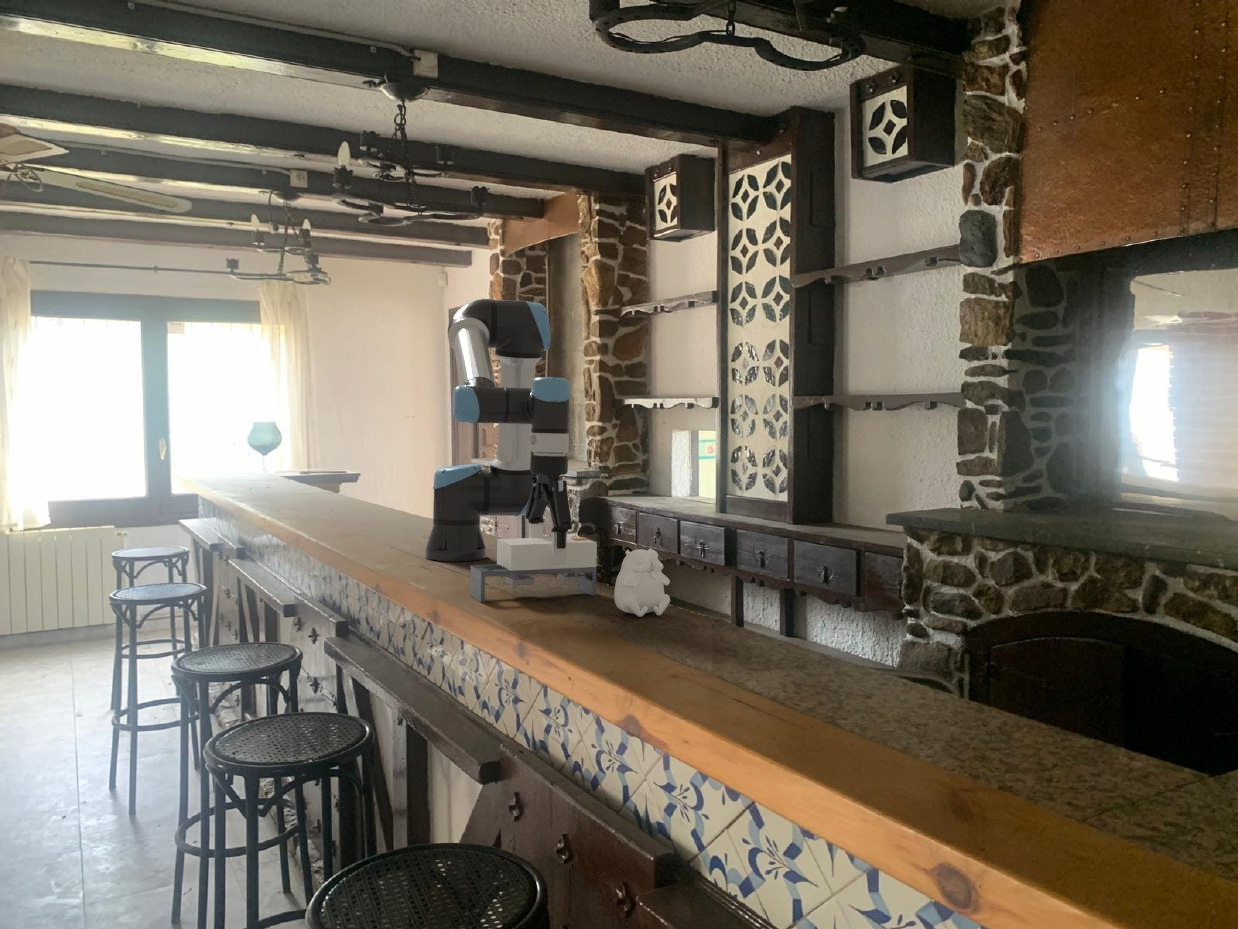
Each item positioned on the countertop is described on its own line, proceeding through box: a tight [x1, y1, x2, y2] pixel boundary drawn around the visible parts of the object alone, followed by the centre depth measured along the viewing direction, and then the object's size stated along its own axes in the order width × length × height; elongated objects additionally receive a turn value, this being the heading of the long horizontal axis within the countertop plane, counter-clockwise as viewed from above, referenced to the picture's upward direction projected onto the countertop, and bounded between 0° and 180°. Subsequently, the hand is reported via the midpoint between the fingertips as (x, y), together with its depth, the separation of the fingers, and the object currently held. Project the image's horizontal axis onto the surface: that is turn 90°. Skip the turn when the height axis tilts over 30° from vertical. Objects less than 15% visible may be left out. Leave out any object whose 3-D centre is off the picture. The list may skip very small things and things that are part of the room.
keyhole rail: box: [469, 563, 597, 603], centre depth 186 cm, size 8×24×6 cm, turn 115°
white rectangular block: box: [496, 536, 598, 587], centre depth 187 cm, size 9×18×9 cm, turn 115°
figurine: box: [613, 547, 671, 618], centre depth 171 cm, size 10×10×12 cm
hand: (546, 559), depth 187 cm, fingers open, 13 cm apart
